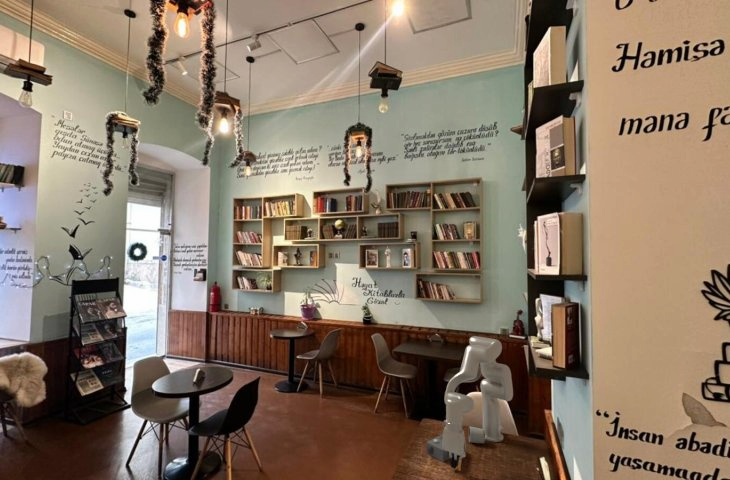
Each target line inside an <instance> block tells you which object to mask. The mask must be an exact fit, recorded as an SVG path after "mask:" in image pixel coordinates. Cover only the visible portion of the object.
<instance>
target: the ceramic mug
mask: <svg viewBox="0 0 730 480" xmlns="http://www.w3.org/2000/svg"><path fill="white" fill-rule="evenodd" d="M468 442H469V443H473V444H482V445H483V444H485V442H486V439H485V431H484V430H483V428H479V427H475V426H469V427H468Z"/></svg>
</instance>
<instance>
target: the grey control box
mask: <svg viewBox="0 0 730 480" xmlns="http://www.w3.org/2000/svg"><path fill="white" fill-rule="evenodd" d="M442 441H443V433H442V434H440V435H438V436H436V437H434V438H432V439H430V440H428V441H426V454H427V455H429V456H430V457H433V458H435V459H436V460H439V461H440V462H442V463H444V462H446V461H447V460H450V459H451V458H450V457H449V454H448V453H447V452H446V451H445V450H444V449H443V447H442ZM454 455H455V454H454Z"/></svg>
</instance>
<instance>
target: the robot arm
mask: <svg viewBox="0 0 730 480" xmlns="http://www.w3.org/2000/svg"><path fill="white" fill-rule="evenodd" d="M468 342H469V345H467V346H466V347H465V350H464V353H463V358H462V362H461V366H460V369H459V372H457V373H456V374H455V375H453V376H452V377H451V378H450V380H449V382H448V383H447V385H446V388H445V389H446V390H445V392H444V399H443V400H444V404H445V412H446V413H445V414H446V415H445V419H444V420H443V423H444V424H445V426H444V428H443V432H442V434H443V441H442V447H443V449H444V450H445V451H446V452H447V453H448V454H449V457H450V458H449V459H450V467H451V469H456V468H457V467H458V464H459V457H462V459H463V458H465V457H466V449H467V447H466V437H465V432H464V429H463V414H468V413H471V412H472V411H473V409H474V407H475V403H474V402H475V401H474V399H473V397H471V396H470V395H469V396H468V395H466V394H462V393H459V392H455V391H456V389H457V387H458V386H459V385H460V384H462V383H464V382H468V381H473V380H475V379H477V376H478V372H479V368H480V373H481V375H482V377H484V378H483V379H482V380H481V381H480V383H479V384H480V392H481V401H482V403H481V404H482V408H481V409H482V413H481V414H482V429H483V430H484V431H485V441H489V442H494V443H497V442H498V443H499V442H502V441H503V440H504V435H503V434H502V433H501V431H502V430H503V429H504V427H503V426H502V425H501V405H500V402H499V400H501V401H504V402H505V401H506V402H511V401H512V400H513V397H514V388H513V380H512V372H511V369H510V367H509V366H508V365H507V364H503V363H498V362H497V361H496V359H497V358H498V357H499V356H500V355H501V353H502V350H503V347H502V346H503V345H502V343H501V341H500V340H498V339H495V338H489V337H484V336H478V335H477V336H476V335H474V336H473V335H472V336H471V337H469V341H468ZM454 454H455V455H454Z"/></svg>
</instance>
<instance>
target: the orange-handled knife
mask: <svg viewBox="0 0 730 480" xmlns="http://www.w3.org/2000/svg"><path fill="white" fill-rule="evenodd" d="M462 460H463V458H462V457H459V458H458V466H457V467H458V468H457V469H458V471H459V472H460V471H461V468H462Z"/></svg>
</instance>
